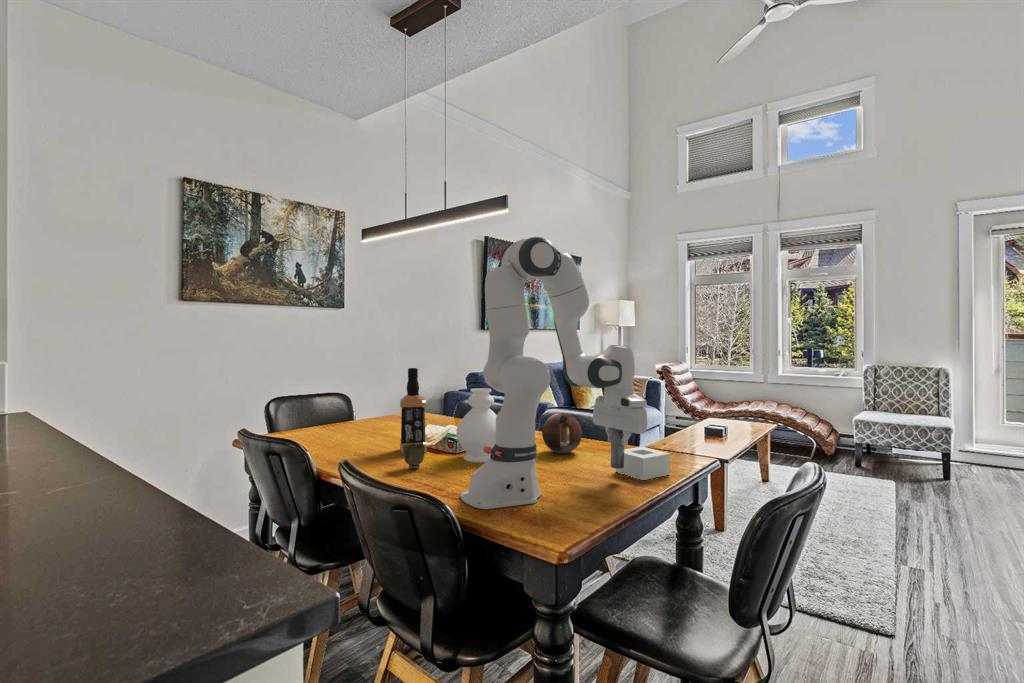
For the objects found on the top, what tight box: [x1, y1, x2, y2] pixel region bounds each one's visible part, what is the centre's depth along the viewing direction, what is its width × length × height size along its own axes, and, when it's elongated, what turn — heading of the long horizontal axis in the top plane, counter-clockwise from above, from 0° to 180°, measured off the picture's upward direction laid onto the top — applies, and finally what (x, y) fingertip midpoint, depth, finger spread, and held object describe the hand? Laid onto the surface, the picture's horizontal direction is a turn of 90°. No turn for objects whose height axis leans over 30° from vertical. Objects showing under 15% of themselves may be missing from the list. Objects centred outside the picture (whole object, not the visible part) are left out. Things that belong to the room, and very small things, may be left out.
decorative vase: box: [455, 387, 497, 463], centre depth 187 cm, size 18×18×25 cm
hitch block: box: [615, 446, 671, 481], centre depth 166 cm, size 12×12×7 cm
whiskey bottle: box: [399, 367, 428, 456], centre depth 197 cm, size 10×10×32 cm
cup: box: [403, 443, 425, 471], centre depth 172 cm, size 8×7×8 cm
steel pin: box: [610, 428, 625, 469], centre depth 158 cm, size 4×4×12 cm
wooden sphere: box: [541, 412, 583, 454], centre depth 195 cm, size 15×15×15 cm
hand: (617, 443), depth 158 cm, fingers closed on steel pin, 4 cm apart
